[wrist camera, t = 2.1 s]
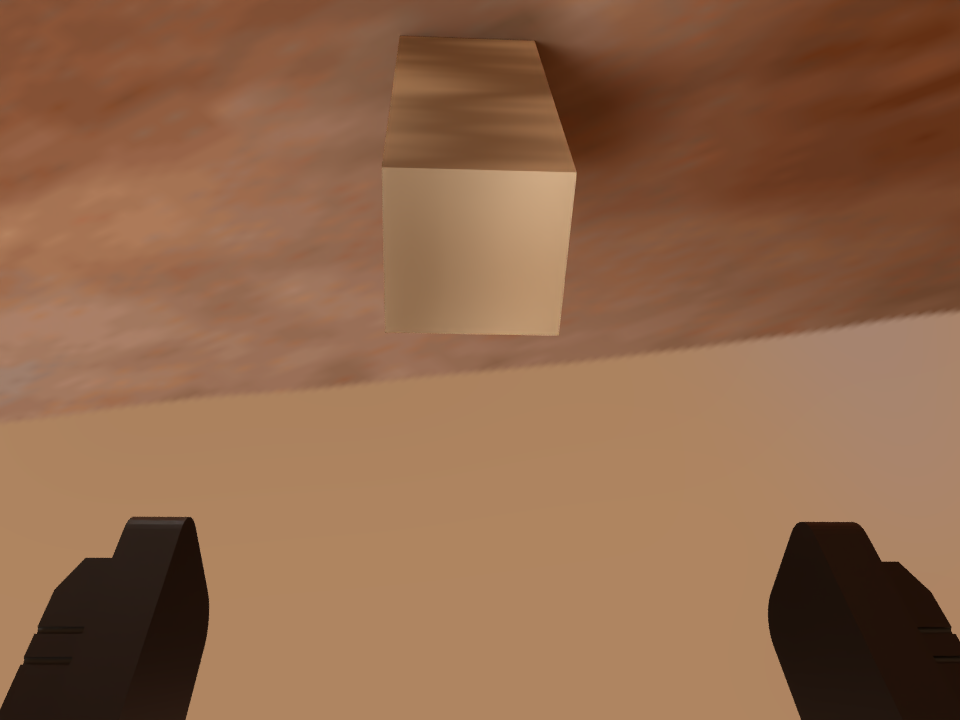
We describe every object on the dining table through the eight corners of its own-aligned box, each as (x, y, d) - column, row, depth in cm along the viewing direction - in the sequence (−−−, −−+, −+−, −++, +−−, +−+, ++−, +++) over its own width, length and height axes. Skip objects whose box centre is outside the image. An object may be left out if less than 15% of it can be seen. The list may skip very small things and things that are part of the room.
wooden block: (534, 40, 27) (577, 172, 18) (524, 167, 29) (558, 335, 21) (399, 35, 26) (381, 167, 18) (400, 164, 29) (384, 332, 20)
